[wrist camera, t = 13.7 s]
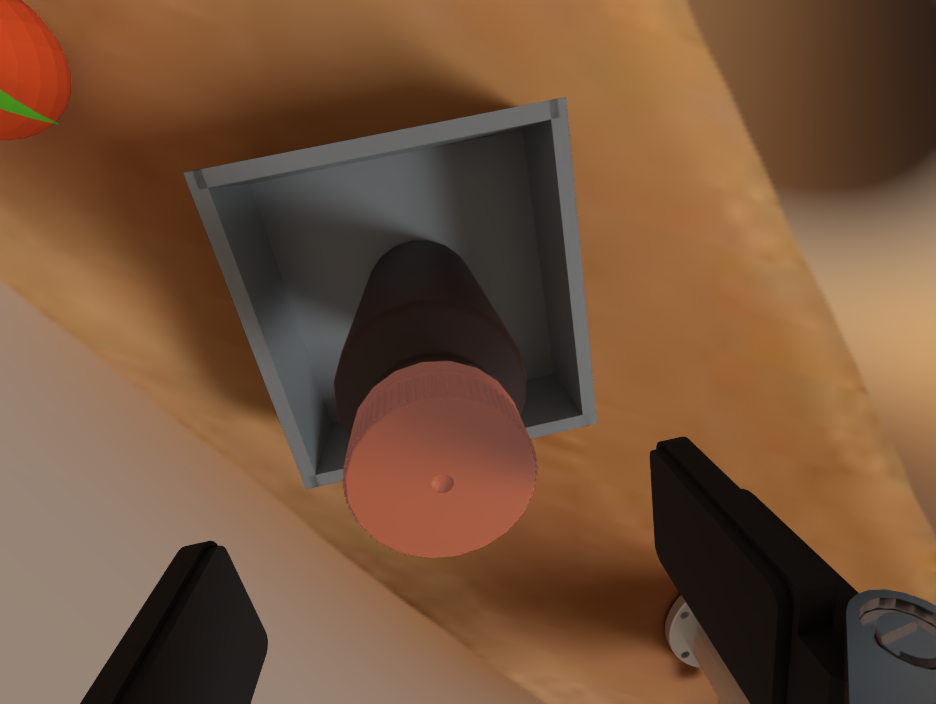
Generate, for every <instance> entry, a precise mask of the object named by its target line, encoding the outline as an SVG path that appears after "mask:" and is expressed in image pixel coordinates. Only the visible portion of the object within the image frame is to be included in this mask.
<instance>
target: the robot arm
mask: <svg viewBox="0 0 936 704" xmlns="http://www.w3.org/2000/svg"><path fill="white" fill-rule="evenodd" d="M650 468H651V486H652V503H653V520H654V538H655V548H656V552H657V555H658V558H659V560H660V562H661V564H662V565H663V567H664V568H665V570H666V572H667V573H668V575H669V576H670V578H671V580H672V581H673V583H674V584H675V586H676V587H677V589H678V591H679V592H680V594H681V595H680V596H679V598H678V599H677V600H676V601H675V602H674V604H673V606H672V608H671V609H670V611H669V613H668V616H667V619H666V623H665V635H666V639H667V641H668V643H669V645H670V647H671V649H672V651H673V652H674V654H675V655H676V657H677V658H679V659H680V660H681V661H682V662H684V663H686V664H688V665H690V666H694V667H698V668H702V670H703V672H704V674H705V675H706V677H707V679H708V680H709V682H710V684H711V686H712V687H713V689H714V691H715V692H716V694H717V696H718V698H719V700H718V702H719V704H936V606H935V605H933V604H932V603H930V602H928V601H926V600H924V599H921V598H918V597H915V596H912V595H909V594H907V593H903V592H897V591H892V590H886V589H880V590H867V591H864V592H861V593H858V592H857V591H856V590H855V589H854V588H853V587H852V586H850V585H849V584H848V583H847V582H846V581H845V580H844V579H843V578H842V577H841V576H840V575H839V574H838V573H837V572H836V571H835V570H833V569H832V568H831V567H830V566H829V565H828V564H827V563H826V562H825V561H824V560H823V559H822V558H821V557H820V556H819V555H818V554H816V553H815V552H814V551H813V550H812V549H811V548H810V547H809V546H808V545H807V544H806V543H805V542H804V541H803V540H802V539H801V538H799V537H798V536H797V535H796V534H795V533H794V532H793V531H792V530H791V529H790V528H789V527H788V526H787V525H786V524H785V523H784V522H782V521H781V520H780V519H779V518H778V517H777V516H776V515H775V514H774V513H773V512H772V511H771V510H770V509H769V508H768V507H766V506H765V505H764V504H763V503H762V502H761V501H760V500H759V499H758V498H757V497H756V496H755V495H754V494H752V493H751V492H749V491H748V490H745V489H740V488H739V487H738V486H737V485H736V484H735V483H734V482H733V481H732V480H731V479H730V478H729V477H728V476H727V475H726V474H725V473H723V472H722V471H721V470H720V469H719V468H718V467H717V466H716V465H715V464H714V463H713V462H712V461H711V460H710V459H709V458H708V457H707V456H706V455H705V454H704V453H703V452H702V451H701V450H700V449H699V448H697V447H696V446H695V445H694V444H693V443H692V442H691V441H690V440H689V439H688V438H686V437H679V438H674V439H670V440H665V441H660V442H658V443H657V446H656V450H652V451H651V452H650ZM267 647H268V639H267V634H266V632H265V629H264V627H263V625H262V623H261V621H260V619H259V617H258V615H257V613H256V611H255V609H254V607H253V604H252V602H251V600H250V598H249V596H248V594H247V592H246V590H245V588H244V586H243V583H242V582H241V579H240V577H239V575H238V573H237V571H236V569H235V567H234V565H233V562H232V560H231V558H230V556H229V554H228V552H227V550H226V549H225V547H223V546H218V545H217V544H216V543H215V542H214V541H207V542H203V543H198V544H193V545H189V546H185V547H182V548H181V549H180V550H179V551H178V553H177V554H176V556H175V557H174V559H173V560H172V562H171V563H170V565H169V567H168V568H167V570H166V571H165V573H164V574H163V576H162V577H161V579H160V581H159V582H158V584H157V585H156V587H155V588H154V590H153V591H152V593H151V594H150V596H149V597H148V599H147V601H146V602H145V604H144V605H143V607H142V609H141V610H140V611H139V613H138V614H137V616H136V618H135V619H134V621H133V622H132V624H131V626H130V627H129V628H128V630H127V632H126V633H125V635H124V636H123V638H122V639H121V641H120V643H119V644H118V646H117V647H116V649H115V650H114V652H113V653H112V655H111V656H110V658H109V660H108V661H107V663H106V664H105V666H104V667H103V669H102V670H101V672H100V673H99V675H98V677H97V678H96V680H95V681H94V683H93V685H92V686H91V688H90V689H89V691H88V692H87V694H86V695H85V697H84V698H83V700H82V702H81V703H80V704H251V700H252V697H253V694H254V691H255V688H256V685H257V681H258V678H259V675H260V672H261V669H262V666H263V663H264V659H265V657H266V653H267Z"/></svg>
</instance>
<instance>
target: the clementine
mask: <svg viewBox="0 0 936 704" xmlns="http://www.w3.org/2000/svg"><path fill="white" fill-rule="evenodd" d="M70 94H71V76H70V72H69V68H68V64H67V60H66V57H65V55H64V53H63V51H62V49H61V47H60V45H59V43H58V41H57V39H56V38H55V37H54V35H53V34H52V33H51V32H50V30H49V29H48V28H47V26H46V25H45V24H44V23H43V21H42V20H41V19H40V17H39V16H38V15H37V14H36V12H34V11H33V10H32V9H31V8H30V7H29V6H28V5H26V4H25V3H24V2H23V1H22V0H0V140H12V139H20V138H25V137H28V136H32V135H36V134H39V133H40V132H42V131H43V130H45V129H46V128H48V127H49V126H51V125H52V124H53V123H54V124H59V123H57V122H56V121H57V120H58V119H59V117H60V116H61V114H62V113H63V112H64V110H65V109H66V107H67V103H68V100H69V97H70ZM59 125H61V124H59Z"/></svg>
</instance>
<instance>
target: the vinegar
mask: <svg viewBox="0 0 936 704" xmlns="http://www.w3.org/2000/svg"><path fill="white" fill-rule="evenodd" d="M526 380H527V375H526V371H525V368H524V365H523V361H522V358H521V355H520V351H519V348H518V346H517V344H516V343H515V341H514V339H513V338H512V336H511V335H510V333H509V331H508V330H507V328H506V327H505V325H504V323H503V322H502V320H501V319H500V317H499V315H498V314H497V312H496V311H495V309H494V308H493V306H492V304H491V303H490V301H489V300H488V298H487V296H486V295H485V293H484V292H483V290H482V288H481V287H480V285H479V284H478V282H477V280H476V279H475V277H474V276H473V274H472V272H471V271H470V269H469V268H468V267H467V265H466V264H465V262H464V261H463V260H462V258H461V257H460V256H459V255H458V254H457V253H455V252H454V251H452V250H451V249H450V248H448V247H447V246H445V245H442V244H439V243H436V242H433V241H429V240H415V241H409V242H406V243H403V244H400V245H397V246H394V247H393V248H392V249H391V250H389V251H388V252H387V253H385V254H384V255H383V256H382V257H381V258H380V259H379V261H378V262H377V264H376V265H375V267H374V268H373V270H372V271H371V274H370V277H369V279H368V282H367V285H366V288H365V290H364V293H363V296H362V298H361V301H360V304H359V306H358V309H357V312H356V315H355V317H354V320H353V323H352V325H351V328H350V331H349V333H348V336H347V339H346V342H345V344H344V347H343V350H342V352H341V356H340V360H339V364H338V368H337V371H336V375H335V379H334V391H335V400H336V410H337V414H338V416H339V418H340V420H341V422H342V424H343V426H344V428H345V430H346V432H347V434H348V436H349V438H350V440H349V444H348V449H347V453H346V458H345V462H344V469H343V479H342V482H344V484H343V489H344V490H345V492H344V497H347V498H346V503H349V508H348V510H352V516H355V517H356V521H355V522H359V524H360V528H364V529H365V533H369V534H370V535H371V538H373V537H374V538H375V539H376V540H377V542H380V543H382V544H383V546H385V545H386V546H388V547H390V550H391V549H392V548H393V549H395V550H397V552H401V553H404V555H406V554H410V555H412V556H414V555H416V556H420V558H421V557H427V558H434V557H435V558H437V557H443V558H445V557H446V556H451V557H453V556H457V555H459V556H460V555H461V554H464V553H467V554H468V552H469V551H472V550H474V551H475V549H478V548H483V547H484V546H486V545H487V544H488V545H489V544H490V542H492V541H493V540H495V541H496V538H498V537H499V536H503V535H502V534H504V533H505V532H508V530H509V528H510V527H511V526H514V523H515V521H519V519H518V518H519V517H520V516H521V515H523V512H524V510H525V509H527V503H531V501H530V496H531V497H532V496H534V495H533V493H532V492H533V490H535V489H536V488H535V486H534V483H537V480H536V478H535V476H538V474H537V471H536V469H538V467H537V464H536V462H537V459H536V456H535V455H536V453H535V450H534V446H533V444H532V441H531V439H530V437H529V434H528V432H527V430H526V428H525V426H524V423H523V421H522V419H521V417H520V415H521V412H522V410H523V407H524V405H525V399H526Z"/></svg>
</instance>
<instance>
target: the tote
mask: <svg viewBox="0 0 936 704" xmlns="http://www.w3.org/2000/svg"><path fill="white" fill-rule="evenodd" d="M183 174H184V176H185V179H186V182H187V184H188V187H189V189H190V192H191V194H192V197H193V200H194V202H195V205H196V207H197V210H198V212H199V215H200V218H201V220H202V223H203V225H204V228H205V230H206V233H207V236H208V238H209V241H210V243H211V246H212V248H213V251H214V254H215V256H216V259H217V261H218V264H219V266H220V269H221V272H222V274H223V277H224V279H225V282H226V284H227V287H228V290H229V292H230V295H231V297H232V300H233V302H234V305H235V308H236V310H237V313H238V315H239V318H240V320H241V323H242V326H243V328H244V331H245V333H246V336H247V338H248V341H249V344H250V346H251V349H252V351H253V354H254V356H255V359H256V362H257V364H258V367H259V369H260V372H261V374H262V377H263V380H264V382H265V385H266V387H267V390H268V392H269V395H270V398H271V400H272V403H273V405H274V408H275V410H276V413H277V416H278V418H279V421H280V423H281V426H282V428H283V431H284V434H285V436H286V439H287V441H288V444H289V446H290V449H291V452H292V454H293V457H294V459H295V462H296V464H297V467H298V470H299V472H300V475H301V477H302V480H303V482H304V485H305V488H306V489H309V488H314V487H318V486H322V485H327V484H331V483H336V482H340V481H342V479H343V469H344V462H345V458H346V453H347V449H348V444H349V440H350V438H349V436H348V434H347V432H346V430H345V428H344V426H343V424H342V422H341V420H340V418H339V416H338V414H337V410H336V400H335V391H334V379H335V375H336V371H337V368H338V364H339V360H340V356H341V352H342V350H343V347H344V344H345V342H346V339H347V336H348V333H349V331H350V328H351V325H352V323H353V320H354V317H355V315H356V312H357V309H358V306H359V304H360V301H361V298H362V296H363V293H364V290H365V288H366V285H367V282H368V279H369V277H370V274H371V271H372V270H373V268H374V267H375V265H376V264H377V262H378V261H379V259H380V258H381V257H382V256H383V255H384V254H385V253H387V252H388V251H389V250H391V249H392V248H393V247H394V246H397V245H400V244H403V243H406V242H409V241H415V240H429V241H433V242H436V243H439V244H442V245H445V246H447V247H448V248H450V249H451V250H452V251H454V252H455V253H457V254H458V255H459V256H460V257H461V258H462V260H463V261H464V262H465V264H466V265H467V267H468V268H469V269H470V271H471V272H472V274H473V276H474V277H475V279H476V280H477V282H478V284H479V285H480V287H481V288H482V290H483V292H484V293H485V295H486V296H487V298H488V300H489V301H490V303H491V304H492V306H493V308H494V309H495V311H496V312H497V314H498V315H499V317H500V319H501V320H502V322H503V323H504V325H505V327H506V328H507V330H508V331H509V333H510V335H511V336H512V338H513V339H514V341H515V343H516V344H517V346H518V348H519V351H520V355H521V358H522V361H523V365H524V368H525V371H526V375H527V380H526V399H525V405H524V407H523V410H522V412H521V415H520V417H521V419H522V421H523V423H524V426H525V428H526V430H527V432H528V434H529V437H530V439H531V438H535V437H540V436H544V435H548V434H553V433H557V432H562V431H566V430H571V429H575V428H579V427H584V426H588V425H593V424H597V419H596V408H595V398H594V387H593V376H592V366H591V355H590V345H589V334H588V324H587V313H586V302H585V292H584V281H583V271H582V260H581V250H580V239H579V228H578V218H577V207H576V197H575V186H574V175H573V165H572V154H571V144H570V133H569V123H568V112H567V101H566V97H563V98H558V99H553V100H548V101H543V102H538V103H533V104H528V105H523V106H518V107H513V108H508V109H503V110H498V111H493V112H488V113H482V114H477V115H472V116H467V117H462V118H457V119H452V120H447V121H442V122H437V123H432V124H427V125H422V126H417V127H412V128H407V129H402V130H397V131H391V132H386V133H381V134H376V135H371V136H366V137H361V138H356V139H351V140H346V141H341V142H336V143H331V144H326V145H321V146H316V147H311V148H306V149H300V150H295V151H290V152H285V153H280V154H275V155H270V156H265V157H260V158H255V159H250V160H245V161H240V162H235V163H230V164H225V165H220V166H215V167H209V168H204V169H199V170H194V171H189V172H184V173H183Z"/></svg>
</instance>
